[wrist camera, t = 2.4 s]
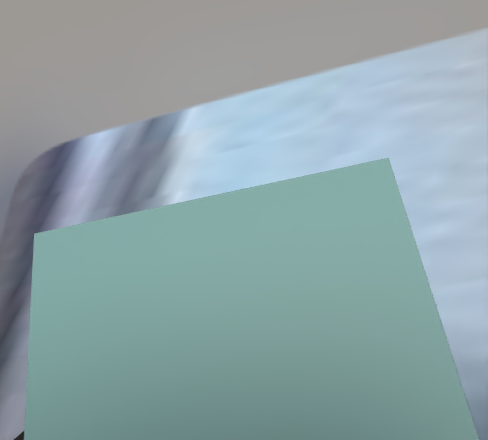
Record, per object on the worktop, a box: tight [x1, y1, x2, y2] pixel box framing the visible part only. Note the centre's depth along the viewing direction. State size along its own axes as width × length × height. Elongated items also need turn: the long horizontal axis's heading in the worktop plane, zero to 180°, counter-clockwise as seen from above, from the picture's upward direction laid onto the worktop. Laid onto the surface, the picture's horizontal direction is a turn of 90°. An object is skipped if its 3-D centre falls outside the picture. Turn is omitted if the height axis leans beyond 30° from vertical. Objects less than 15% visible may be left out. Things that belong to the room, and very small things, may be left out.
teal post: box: [24, 158, 479, 440], centre depth 10 cm, size 4×4×13 cm
